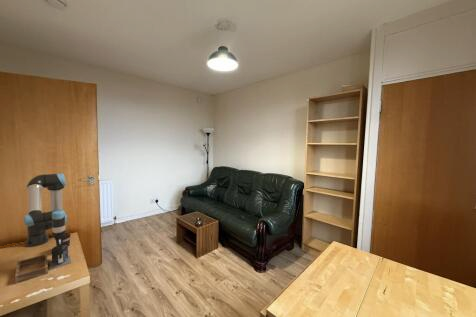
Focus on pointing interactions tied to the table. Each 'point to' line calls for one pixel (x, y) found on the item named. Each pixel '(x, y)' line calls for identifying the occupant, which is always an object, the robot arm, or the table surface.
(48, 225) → the robot arm
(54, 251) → the box
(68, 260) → the pad
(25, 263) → the shallow wooden tray
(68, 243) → the coffee cup
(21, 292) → the table surface
